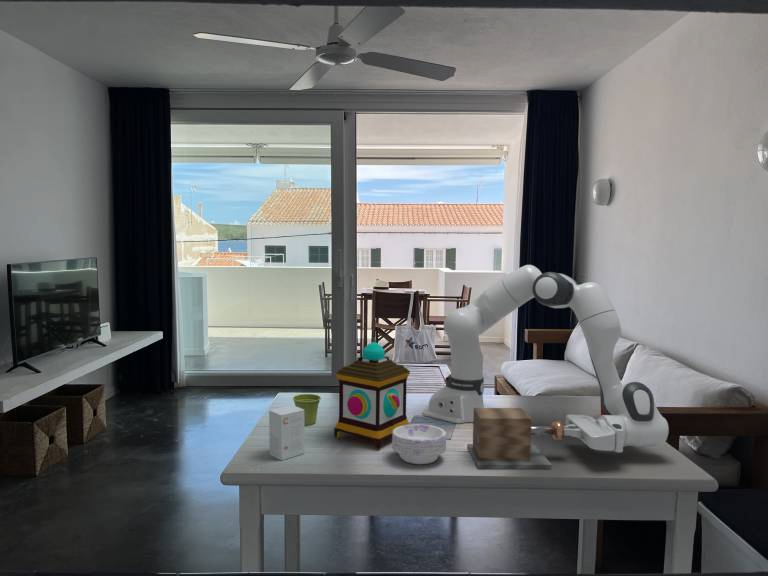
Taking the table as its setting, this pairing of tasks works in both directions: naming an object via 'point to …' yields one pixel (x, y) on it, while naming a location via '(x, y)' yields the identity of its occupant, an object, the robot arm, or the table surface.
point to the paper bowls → (419, 443)
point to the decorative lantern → (372, 396)
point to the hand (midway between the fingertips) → (561, 430)
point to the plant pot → (308, 406)
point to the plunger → (550, 430)
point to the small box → (286, 432)
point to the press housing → (504, 440)
